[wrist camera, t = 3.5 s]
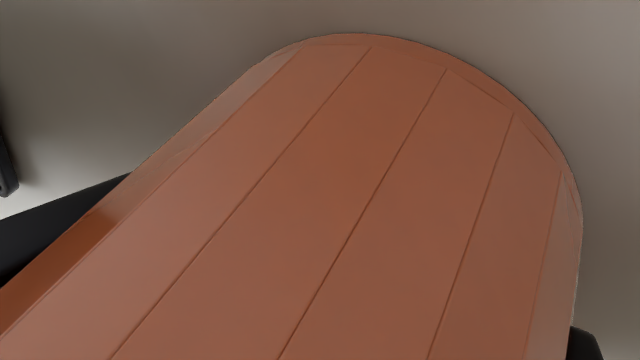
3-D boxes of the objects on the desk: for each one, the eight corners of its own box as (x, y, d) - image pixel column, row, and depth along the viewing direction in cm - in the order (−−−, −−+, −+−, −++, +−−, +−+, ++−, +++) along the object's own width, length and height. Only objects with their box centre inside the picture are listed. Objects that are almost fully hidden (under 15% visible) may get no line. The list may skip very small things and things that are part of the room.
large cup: (225, 255, 15) (11, 528, 10) (215, -20, 10) (-237, 259, 5) (504, 378, 13) (410, 792, 8) (672, 116, 8) (702, 809, 3)
